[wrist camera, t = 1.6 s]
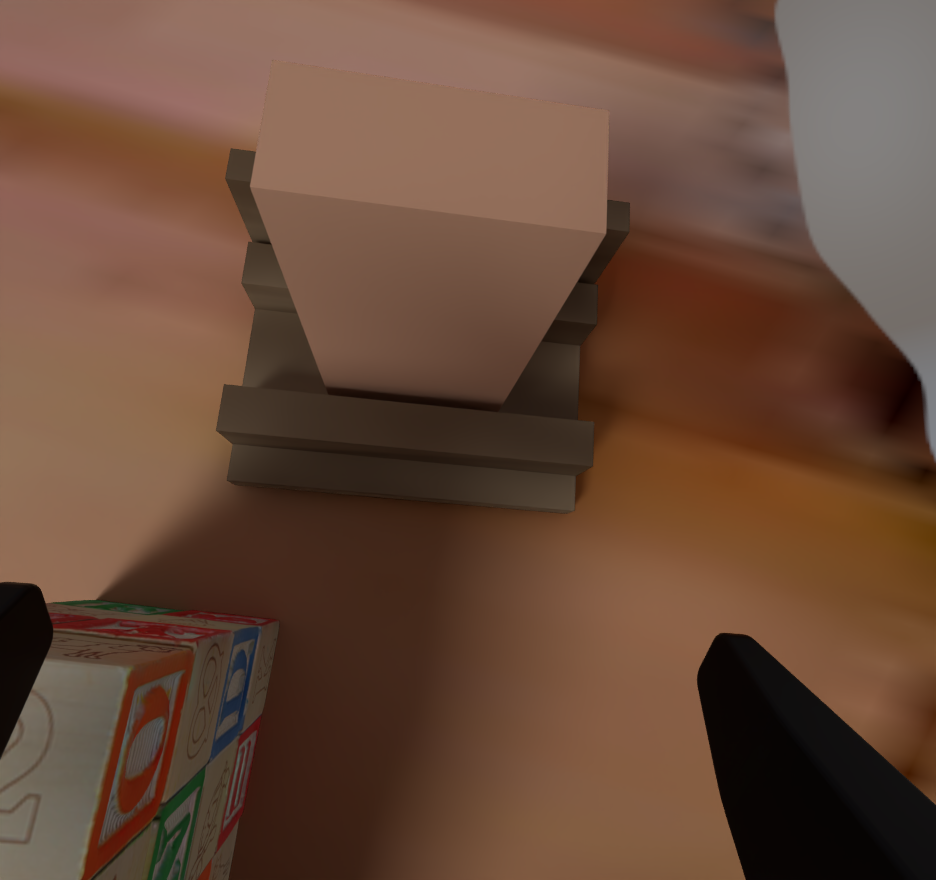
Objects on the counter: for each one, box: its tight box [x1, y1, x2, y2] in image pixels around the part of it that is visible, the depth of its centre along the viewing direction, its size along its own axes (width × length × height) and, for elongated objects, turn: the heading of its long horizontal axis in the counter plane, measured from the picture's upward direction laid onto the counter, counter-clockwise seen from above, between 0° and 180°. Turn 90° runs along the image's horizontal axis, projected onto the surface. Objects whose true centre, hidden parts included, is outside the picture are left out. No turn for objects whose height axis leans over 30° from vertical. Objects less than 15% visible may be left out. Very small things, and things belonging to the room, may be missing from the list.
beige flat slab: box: [250, 60, 609, 412], centre depth 16 cm, size 2×6×12 cm, turn 85°
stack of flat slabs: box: [216, 148, 630, 514], centre depth 20 cm, size 9×12×6 cm
